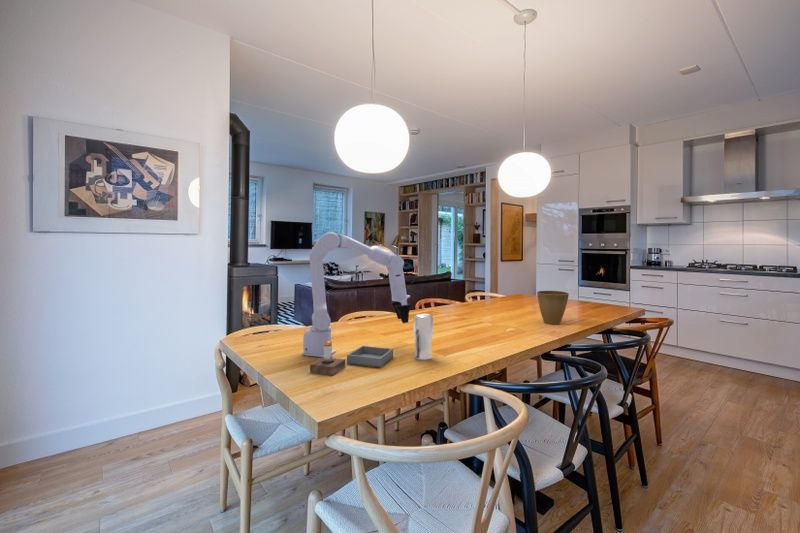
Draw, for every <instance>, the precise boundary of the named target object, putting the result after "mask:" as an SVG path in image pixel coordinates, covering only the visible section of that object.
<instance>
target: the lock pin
mask: <svg viewBox="0 0 800 533" xmlns="http://www.w3.org/2000/svg"><path fill="white" fill-rule="evenodd" d="M332 346H333V342H332V340H331V341H324V363H325V364H331V363H332V358H333V353H332V350H333V347H332Z"/></svg>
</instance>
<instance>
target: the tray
mask: <svg viewBox="0 0 800 533" xmlns="http://www.w3.org/2000/svg"><path fill="white" fill-rule="evenodd" d="M393 358H394V349H393V348H389V347H388V348H387V347H380V346H379V347H378V346H369V345H361V346H359V347H357V348H356V349H355V350H352V351H350V353H348V354H346V364H347V365H352V366H359V367H369V368H378V369H381V368H382V367H383V366H384V365H386V364H387V363H389V362H390V361H391V360H392V359H393Z"/></svg>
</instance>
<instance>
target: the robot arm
mask: <svg viewBox="0 0 800 533" xmlns="http://www.w3.org/2000/svg"><path fill="white" fill-rule="evenodd" d="M337 248H349V249H352V250H353V251H357V252H359V253H361V254H364V255H366V256H367V258H368V260H369V261H371V262H373V263H377V264H378V265H381V266H383V267H386V268H387V270H388V280H389V287H390V291H391V301H390V304H391V306H392V308H393V309H394V312H395V314H396V318H397V319H398V320H401V323H402V324H407V323H409V319H410V309H411V307H412V304H411V303H408V298H411V295H410V294H407V288H406V281H405V273H404V270H403V268H404V265H405V261H404V259H403V258H402V256H401V255H399V254H394V252H393V251H391V250H390V251H388V250H386V249H384V248H382V246H381V245H372V246H368V245H367V244H365V243H362V242H360V241H358V240H356V239H354V238H352V237H349V236H347V235H344V234H341V233H340V234H339V233H337V232H335V231H327V232H325V233H324V234H322V235H321V236H319V238H317V240H316V242H315V244H314V246H313V247H312V248H311V251H310V252H309V265H310V266H309V267H310V279H311V281H310V282H311V292H312V302H313V303H312V305H313V306H312V307H313V312H312V315H311V321H312V322H311V323H312V326H311V327H310V328H306V329H305V330H304V333H303V339H302V340H303V343H302V344H303V353H301V354H302V356H307V357H308V356H309V357H317V358H318V357H319V358H322V357H324V341H332V326H331V323H332V322H331V321H332V320H331V317H330V316H329V315H330V314H329V312H328V307H327V298H326V285H325V283H326V282H325V273H324V262H323V261H324V258H326V256H327V255H328V254H329V253H330V252H332V251H334V250H336V249H337ZM336 352H337V350H336V349H332V354H334V353H336Z"/></svg>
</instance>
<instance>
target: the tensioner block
mask: <svg viewBox="0 0 800 533" xmlns="http://www.w3.org/2000/svg"><path fill="white" fill-rule="evenodd" d="M345 368H346V359H344V358H337V357H336V358H334V357H332V363H331V364H325V363H324V357H320V358H319V359H317V360H315V361H314V362H311V363H309V372H310V373H312V374H319V375H327V376H335V375H336V374H337V373H338V372H340V371H342V370H344V369H345Z"/></svg>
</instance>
